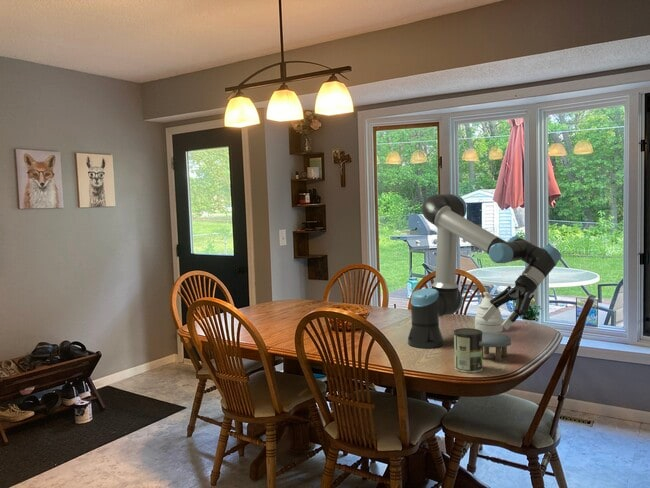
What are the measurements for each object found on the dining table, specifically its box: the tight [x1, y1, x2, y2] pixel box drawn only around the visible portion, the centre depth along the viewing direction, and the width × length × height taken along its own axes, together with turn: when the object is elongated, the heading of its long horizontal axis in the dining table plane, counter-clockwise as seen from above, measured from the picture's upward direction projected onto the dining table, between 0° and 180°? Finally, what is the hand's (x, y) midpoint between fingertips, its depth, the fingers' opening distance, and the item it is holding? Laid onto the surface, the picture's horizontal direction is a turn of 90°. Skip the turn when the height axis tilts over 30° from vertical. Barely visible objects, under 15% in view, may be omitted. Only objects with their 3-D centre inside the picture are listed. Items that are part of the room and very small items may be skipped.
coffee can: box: [453, 327, 483, 374], centre depth 196 cm, size 10×10×14 cm
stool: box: [482, 332, 512, 363], centre depth 209 cm, size 14×14×8 cm
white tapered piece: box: [474, 291, 504, 333], centre depth 252 cm, size 13×13×18 cm
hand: (493, 323), depth 197 cm, fingers open, 13 cm apart
